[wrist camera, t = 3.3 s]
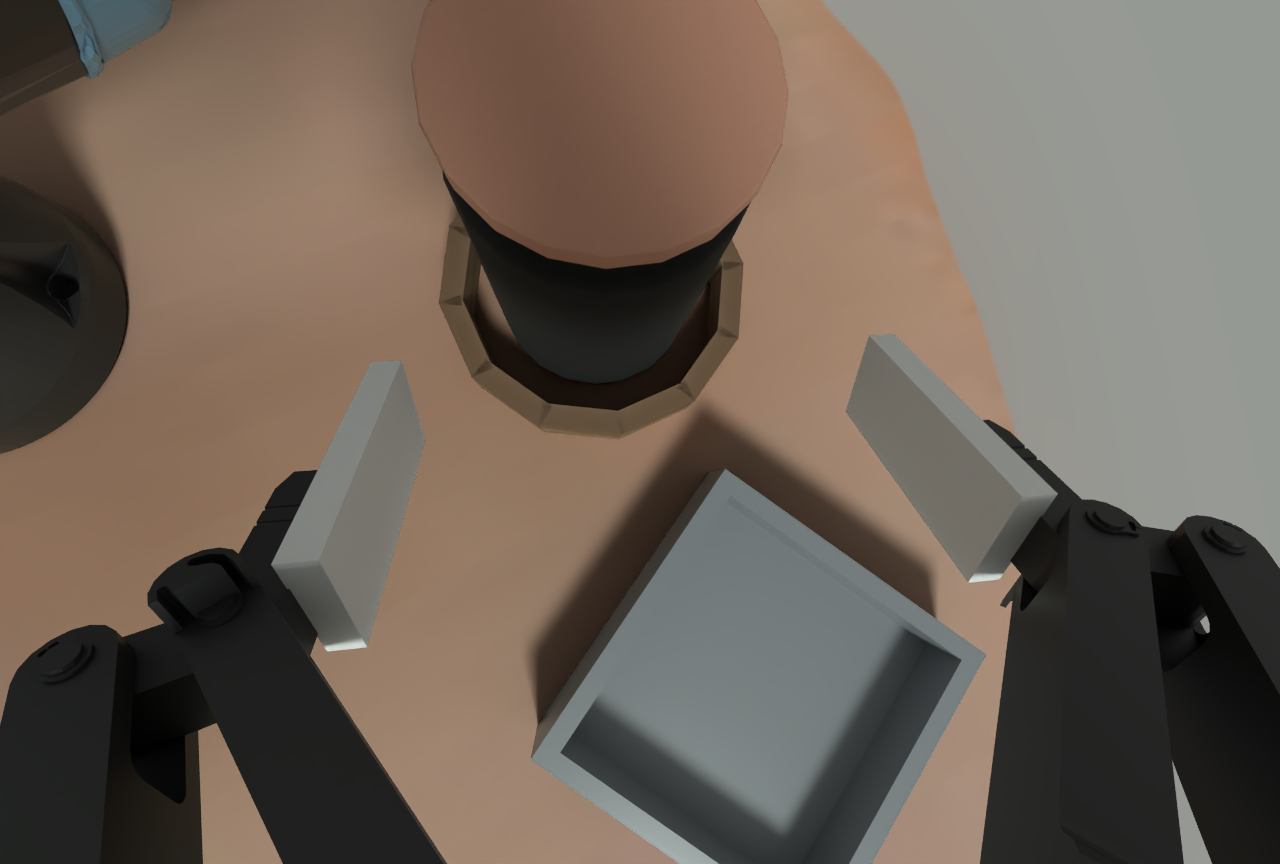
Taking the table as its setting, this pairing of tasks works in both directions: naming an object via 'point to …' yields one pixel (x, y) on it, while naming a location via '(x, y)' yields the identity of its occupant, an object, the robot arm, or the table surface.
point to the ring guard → (571, 419)
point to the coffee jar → (600, 159)
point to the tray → (756, 693)
